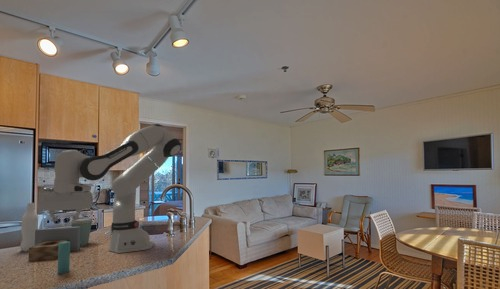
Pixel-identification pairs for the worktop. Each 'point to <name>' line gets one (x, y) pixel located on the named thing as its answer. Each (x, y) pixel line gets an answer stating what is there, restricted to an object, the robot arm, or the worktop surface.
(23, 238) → the water bottle
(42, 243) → the socket block
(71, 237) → the wall
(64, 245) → the dowel
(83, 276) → the worktop surface
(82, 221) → the disposable coffee cup
